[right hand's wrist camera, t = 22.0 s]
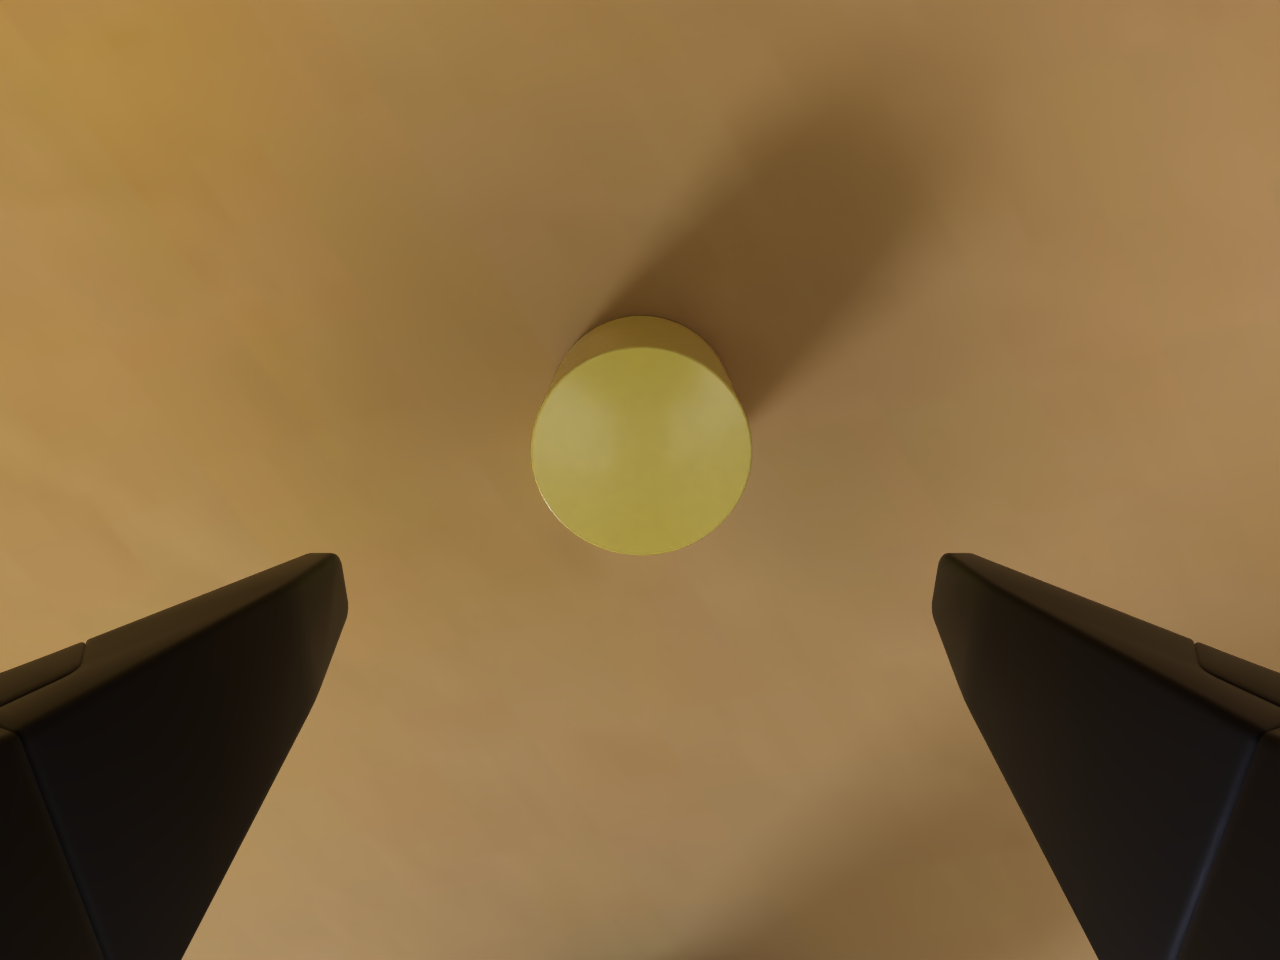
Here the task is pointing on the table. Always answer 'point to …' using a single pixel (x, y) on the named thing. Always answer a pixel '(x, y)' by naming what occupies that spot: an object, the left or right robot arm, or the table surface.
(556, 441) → the yellow cylinder
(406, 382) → the table surface
